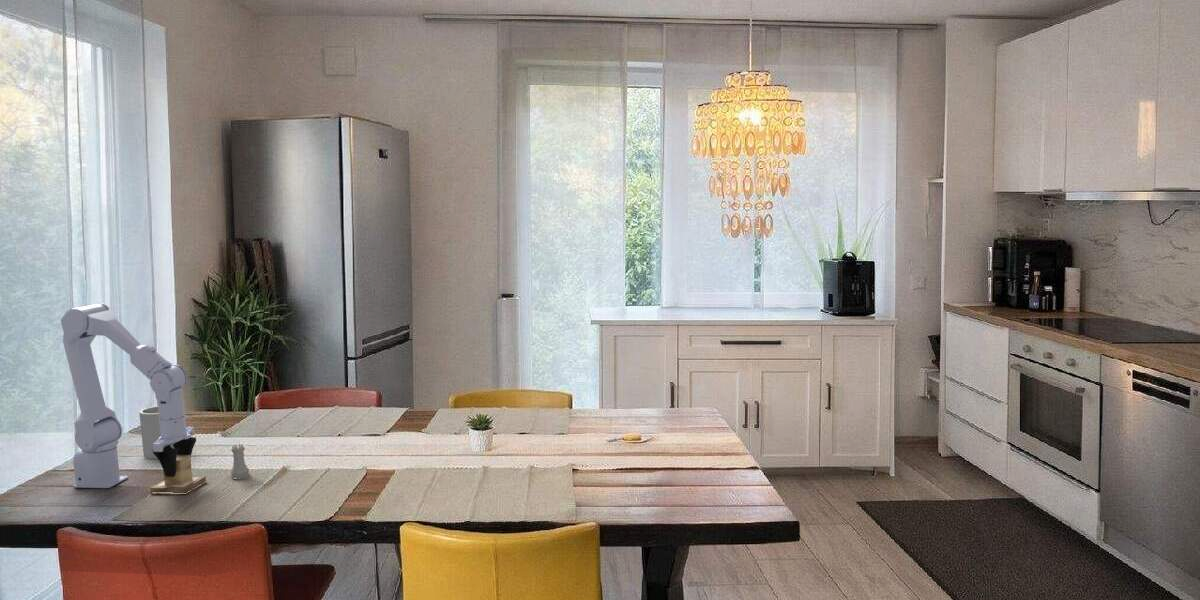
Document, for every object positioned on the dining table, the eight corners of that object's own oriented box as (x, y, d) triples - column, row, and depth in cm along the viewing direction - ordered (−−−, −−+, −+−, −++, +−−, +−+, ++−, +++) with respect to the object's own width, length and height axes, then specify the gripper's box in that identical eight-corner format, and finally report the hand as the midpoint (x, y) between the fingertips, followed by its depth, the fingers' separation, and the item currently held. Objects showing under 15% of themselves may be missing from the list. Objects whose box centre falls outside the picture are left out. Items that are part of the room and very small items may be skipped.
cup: (145, 450, 276) (141, 407, 274) (181, 446, 278) (177, 404, 277) (141, 459, 267) (137, 415, 265) (178, 455, 270) (174, 411, 268)
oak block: (164, 484, 241) (162, 460, 240) (175, 478, 245) (172, 454, 245) (182, 484, 240) (180, 460, 240) (192, 478, 245) (190, 454, 244)
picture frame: (150, 493, 239) (150, 487, 239) (172, 481, 248) (171, 475, 248) (186, 494, 238) (185, 488, 238) (206, 482, 247) (205, 476, 247)
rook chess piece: (243, 480, 248) (241, 448, 247) (227, 479, 249) (224, 447, 247) (253, 474, 252) (250, 443, 251) (237, 473, 253) (234, 442, 252)
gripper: (170, 425, 233) (176, 482, 235) (204, 409, 247) (208, 463, 249) (142, 425, 234) (148, 481, 236) (177, 409, 248) (182, 462, 250)
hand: (177, 472), depth 243 cm, fingers open, 5 cm apart
